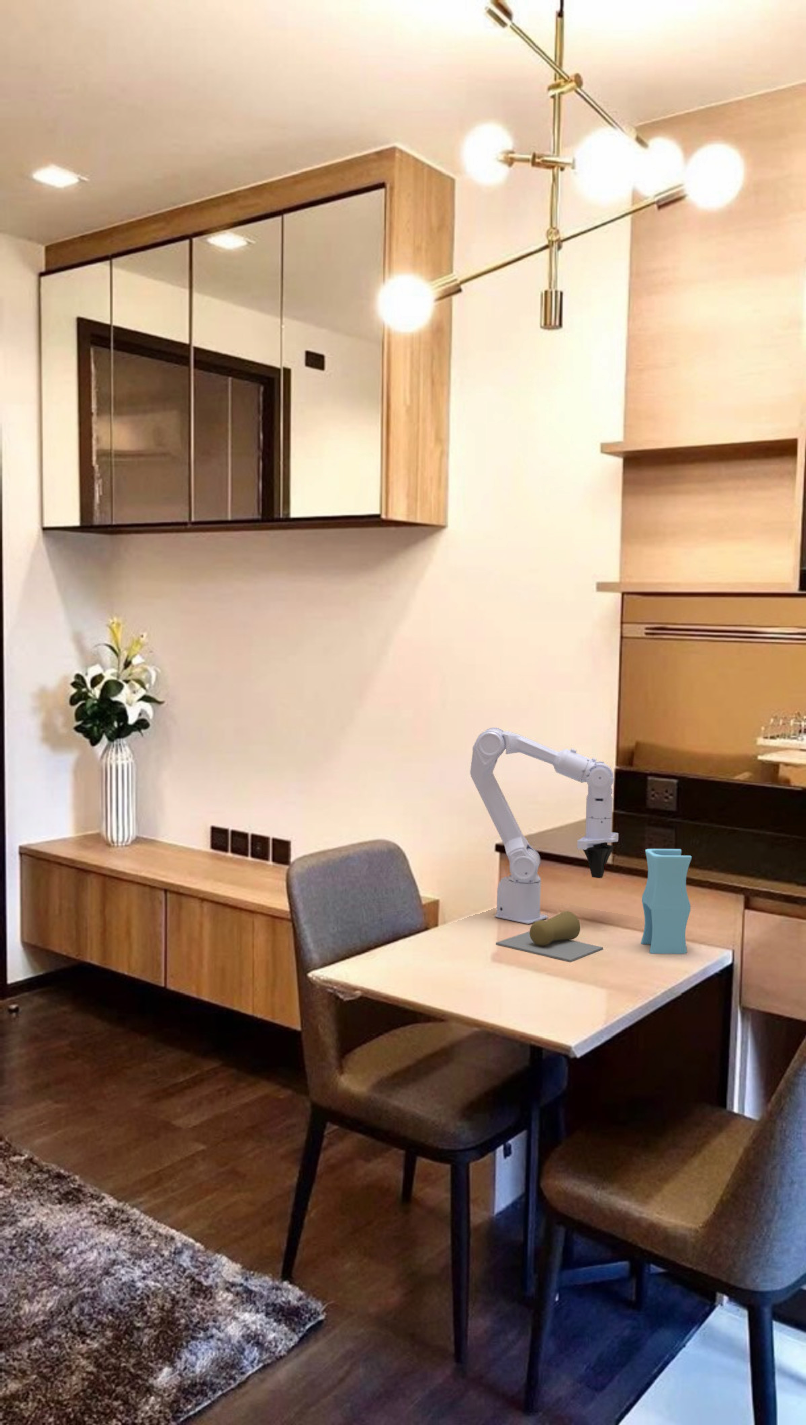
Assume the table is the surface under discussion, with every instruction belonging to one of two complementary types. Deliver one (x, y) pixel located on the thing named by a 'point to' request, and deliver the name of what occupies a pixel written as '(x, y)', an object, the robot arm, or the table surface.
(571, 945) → the mat
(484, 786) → the robot arm
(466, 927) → the table surface
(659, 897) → the vase
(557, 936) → the olive waisted cylinder
